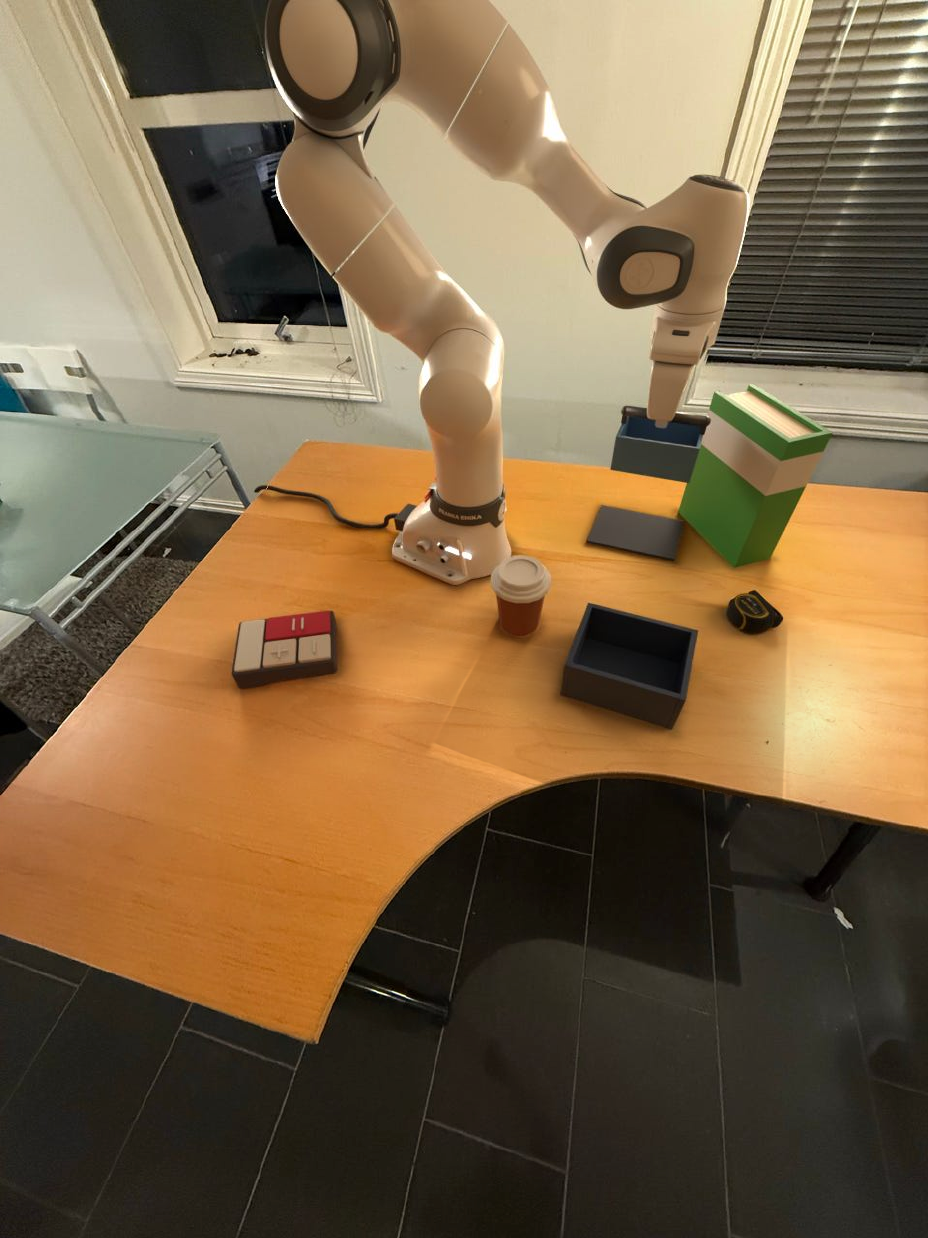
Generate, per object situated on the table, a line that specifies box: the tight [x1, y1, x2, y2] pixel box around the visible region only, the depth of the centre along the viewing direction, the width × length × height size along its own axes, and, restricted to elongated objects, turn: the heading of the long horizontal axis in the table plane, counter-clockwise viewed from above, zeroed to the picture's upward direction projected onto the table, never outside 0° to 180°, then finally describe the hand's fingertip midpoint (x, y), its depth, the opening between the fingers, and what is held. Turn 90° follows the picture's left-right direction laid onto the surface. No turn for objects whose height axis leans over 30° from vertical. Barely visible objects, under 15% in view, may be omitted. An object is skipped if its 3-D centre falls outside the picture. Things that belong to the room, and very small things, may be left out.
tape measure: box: [725, 589, 784, 635], centre depth 82 cm, size 7×7×4 cm
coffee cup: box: [490, 554, 552, 638], centre depth 81 cm, size 9×9×12 cm
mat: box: [586, 504, 685, 563], centre depth 100 cm, size 16×12×1 cm
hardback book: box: [677, 383, 834, 569], centre depth 90 cm, size 18×7×24 cm, turn 17°
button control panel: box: [231, 610, 338, 690], centre depth 83 cm, size 11×4×15 cm
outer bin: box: [559, 602, 699, 731], centre depth 75 cm, size 16×13×8 cm
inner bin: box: [609, 405, 711, 484], centre depth 85 cm, size 14×10×9 cm
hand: (662, 421), depth 83 cm, fingers closed on inner bin
